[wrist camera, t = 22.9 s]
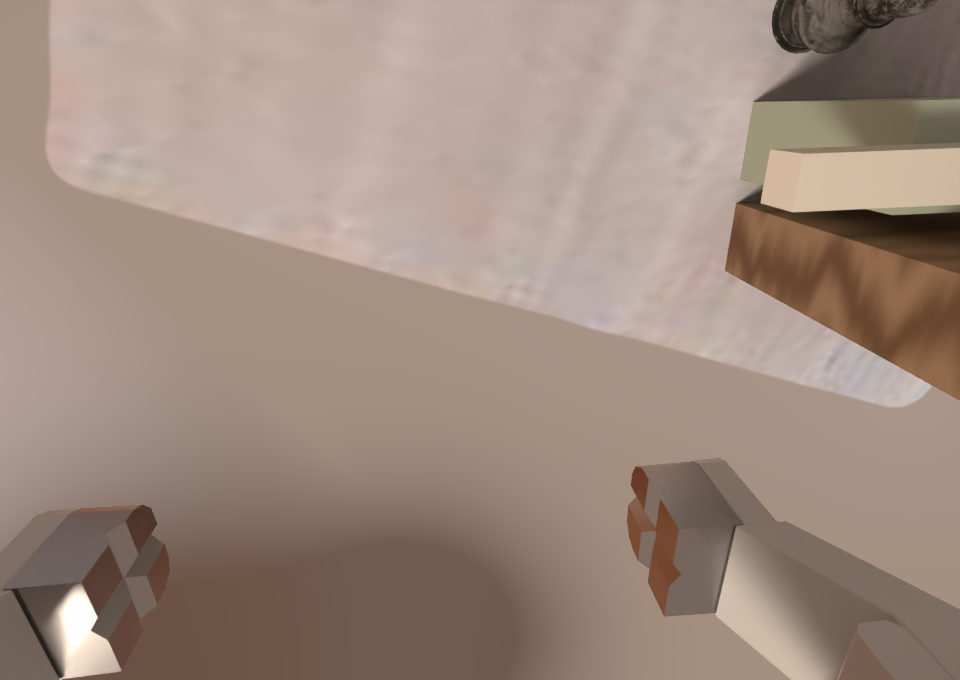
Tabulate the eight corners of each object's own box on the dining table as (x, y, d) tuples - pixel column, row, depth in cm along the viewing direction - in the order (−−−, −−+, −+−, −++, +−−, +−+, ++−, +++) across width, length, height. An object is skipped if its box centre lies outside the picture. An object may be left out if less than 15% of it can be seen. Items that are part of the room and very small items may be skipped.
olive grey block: (753, 101, 42) (924, 100, 28) (927, 96, 44) (1179, 92, 29) (740, 179, 45) (891, 215, 30) (905, 172, 46) (1128, 204, 31)
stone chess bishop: (758, -5, 39) (886, -45, 29) (833, -50, 39) (994, -110, 28) (779, 73, 42) (904, 62, 31) (850, 31, 41) (1004, 6, 30)
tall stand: (736, 203, 46) (1070, 309, 22) (899, 196, 47) (1382, 289, 23) (725, 270, 48) (1014, 430, 25) (879, 262, 49) (1299, 407, 26)
